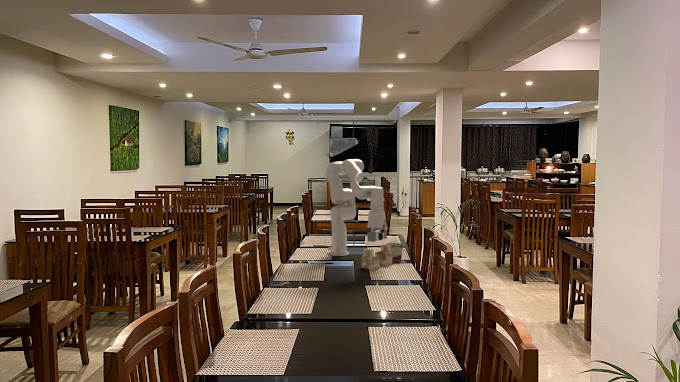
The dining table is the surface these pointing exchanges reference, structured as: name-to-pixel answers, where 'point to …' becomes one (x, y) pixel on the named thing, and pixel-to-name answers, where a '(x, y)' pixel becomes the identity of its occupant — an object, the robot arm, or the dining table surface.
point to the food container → (396, 251)
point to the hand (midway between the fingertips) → (377, 239)
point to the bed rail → (375, 235)
